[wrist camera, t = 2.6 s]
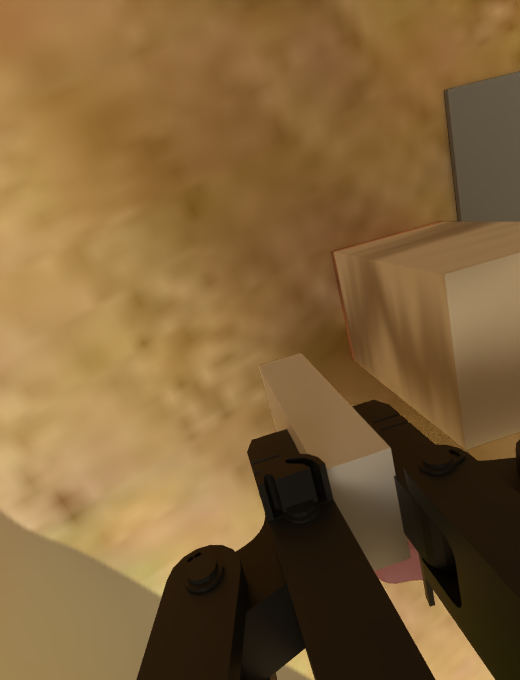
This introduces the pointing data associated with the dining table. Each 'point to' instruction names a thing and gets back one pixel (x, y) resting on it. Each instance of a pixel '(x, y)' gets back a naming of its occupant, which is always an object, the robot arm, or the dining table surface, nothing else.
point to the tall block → (440, 322)
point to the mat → (486, 148)
